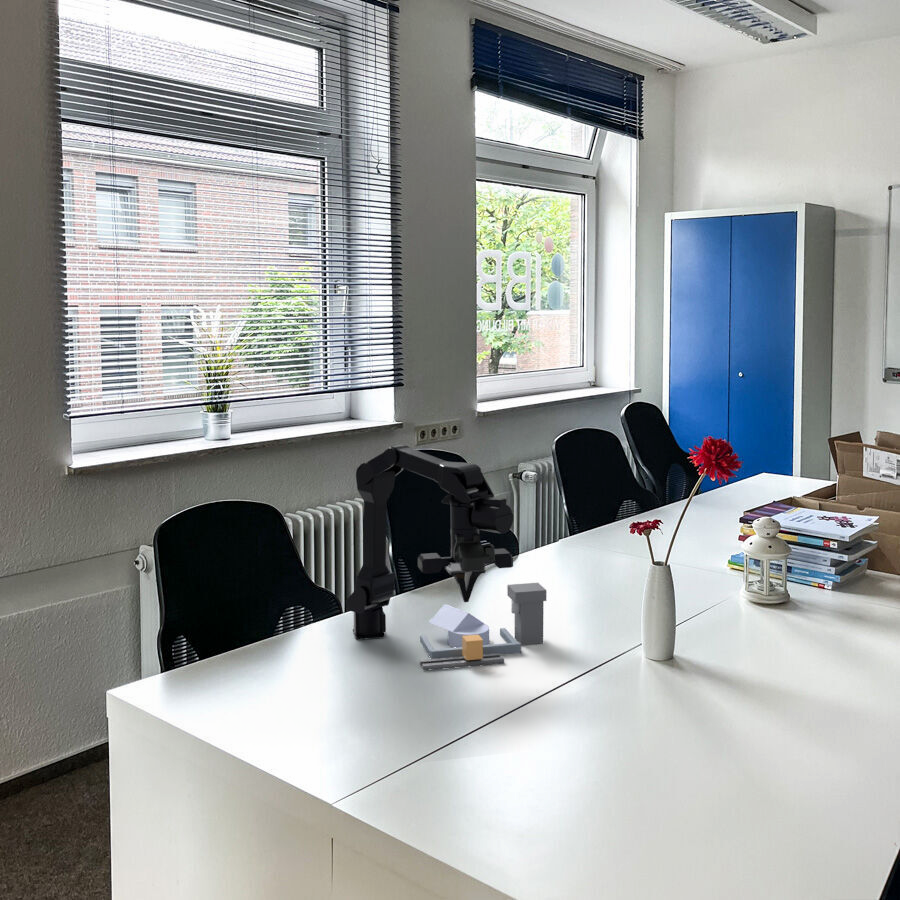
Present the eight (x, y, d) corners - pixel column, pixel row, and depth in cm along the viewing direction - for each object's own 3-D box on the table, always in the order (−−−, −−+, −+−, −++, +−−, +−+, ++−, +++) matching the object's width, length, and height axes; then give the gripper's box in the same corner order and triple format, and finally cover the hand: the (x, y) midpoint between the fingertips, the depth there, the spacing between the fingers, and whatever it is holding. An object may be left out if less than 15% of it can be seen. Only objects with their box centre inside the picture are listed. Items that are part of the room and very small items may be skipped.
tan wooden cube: (466, 664, 203) (466, 641, 203) (462, 659, 207) (462, 635, 206) (482, 663, 204) (482, 640, 203) (478, 657, 207) (478, 634, 207)
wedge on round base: (429, 636, 222) (465, 652, 212) (428, 607, 221) (465, 622, 211) (460, 628, 228) (497, 643, 217) (460, 600, 226) (497, 613, 216)
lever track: (423, 670, 201) (423, 666, 201) (419, 664, 205) (419, 660, 205) (504, 663, 205) (504, 658, 205) (499, 657, 209) (499, 652, 208)
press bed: (431, 660, 207) (430, 604, 205) (420, 641, 219) (419, 587, 217) (551, 650, 213) (552, 595, 211) (534, 632, 224) (534, 579, 223)
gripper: (427, 538, 191) (428, 617, 193) (520, 532, 195) (521, 609, 197) (416, 526, 202) (418, 601, 204) (505, 521, 206) (506, 594, 208)
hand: (465, 601), depth 203 cm, fingers closed
